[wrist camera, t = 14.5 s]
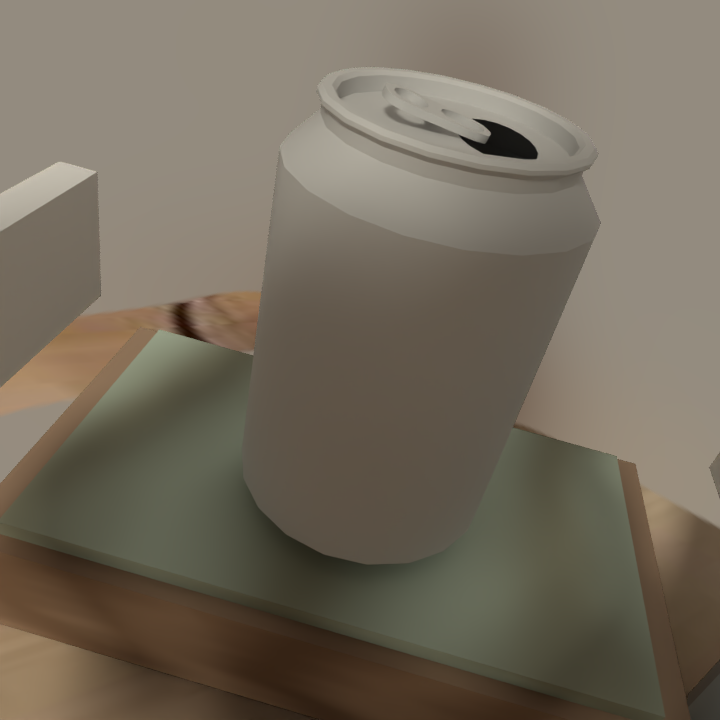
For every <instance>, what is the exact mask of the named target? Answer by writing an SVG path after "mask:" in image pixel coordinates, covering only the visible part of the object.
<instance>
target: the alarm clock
mask: <svg viewBox="0 0 720 720" xmlns="http://www.w3.org/2000/svg"><path fill="white" fill-rule="evenodd" d="M687 704H688V709H689V713H690V718H691V720H720V660H719V661H718V662H717V663H716V664H715V666H714V667H713V668H712V669H711V670H710V671H709V672H708V673H707V674H706V675H705V676H704V678H703V679H702V680H701V681H700V682H699V683H698V684H697V685H696V686H695V687H694V688H693V689H692V691H691V692H690V693H689V694H688V699H687Z"/></svg>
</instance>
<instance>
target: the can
mask: <svg viewBox="0 0 720 720" xmlns="http://www.w3.org/2000/svg"><path fill="white" fill-rule="evenodd" d="M316 92H317V94H318V96H319V98H320V101H321V108H320V109H319V110H318V111H317V112H315V113H314V114H313V115H312V116H310V117H309V118H308V119H307V120H305V121H304V122H303V123H302V124H300V125H299V126H298V127H297V128H295V129H294V130H293V131H292V132H291V133H290V134H289V135H288V136H287V138H286V139H285V140H284V142H283V143H282V144H281V146H280V147H279V155H278V164H277V171H276V179H275V187H274V195H273V204H272V211H271V220H270V227H269V235H268V244H267V251H266V260H265V267H264V275H263V283H262V291H261V299H260V307H259V315H258V323H257V332H256V340H255V348H254V356H253V364H252V372H251V380H250V388H249V396H248V404H247V412H246V420H245V428H244V436H243V444H242V462H243V478H244V480H245V482H246V484H247V486H248V488H249V490H250V492H251V494H252V496H253V498H254V500H255V502H256V504H257V506H258V508H259V509H260V510H261V511H262V512H263V513H264V514H265V515H266V516H267V517H269V518H270V519H271V520H272V521H273V522H274V523H275V524H276V525H277V526H278V527H279V528H280V529H281V530H282V531H283V532H284V533H285V534H286V535H288V536H290V537H292V538H294V539H296V540H297V541H299V542H301V543H303V544H305V545H307V546H309V547H311V548H312V549H314V550H316V551H318V552H320V553H322V554H324V555H328V556H332V557H336V558H341V559H345V560H349V561H353V562H357V563H362V564H366V565H372V564H404V563H411V562H414V561H417V560H420V559H423V558H425V557H428V556H431V555H434V554H437V553H440V552H443V551H444V550H445V549H447V548H448V547H449V546H450V545H451V544H453V543H454V542H455V541H456V540H457V539H458V538H460V537H461V536H462V535H463V534H464V533H466V532H467V531H468V529H469V526H470V524H471V522H472V520H473V518H474V515H475V513H476V511H477V509H478V507H479V505H480V502H481V500H482V498H483V495H484V493H485V491H486V488H487V486H488V484H489V481H490V479H491V477H492V474H493V472H494V470H495V467H496V465H497V463H498V461H499V458H500V456H501V454H502V451H503V449H504V447H505V444H506V442H507V440H508V437H509V435H510V433H511V430H512V428H513V426H514V423H515V421H516V419H517V416H518V414H519V412H520V409H521V407H522V405H523V402H524V400H525V398H526V396H527V393H528V391H529V388H530V386H531V384H532V382H533V379H534V377H535V375H536V372H537V370H538V368H539V365H540V363H541V361H542V359H543V356H544V354H545V352H546V349H547V347H548V345H549V342H550V340H551V338H552V335H553V333H554V331H555V328H556V326H557V324H558V321H559V319H560V317H561V315H562V312H563V310H564V307H565V305H566V303H567V300H568V298H569V296H570V294H571V291H572V289H573V287H574V284H575V282H576V280H577V277H578V275H579V273H580V270H581V268H582V266H583V263H584V261H585V259H586V257H587V254H588V252H589V250H590V247H591V245H592V242H593V240H594V238H595V236H596V233H597V231H598V229H599V226H600V224H601V222H600V220H599V217H598V215H597V212H596V210H595V208H594V205H593V202H592V200H591V197H590V195H589V192H588V190H587V187H586V185H585V183H584V180H583V177H582V173H583V171H585V170H588V169H589V168H590V167H591V166H592V164H593V163H594V161H595V160H596V158H597V156H598V152H597V150H596V148H595V146H594V144H593V142H592V140H591V138H590V136H589V135H588V134H587V133H585V132H584V131H583V130H582V129H580V128H579V127H578V126H577V125H575V124H574V123H573V122H571V121H570V120H568V119H566V118H564V117H562V116H560V115H558V114H557V113H555V112H553V111H551V110H549V109H547V108H545V107H543V106H540V105H538V104H535V103H533V102H530V101H528V100H525V99H523V98H520V97H518V96H515V95H512V94H509V93H506V92H502V91H499V90H496V89H493V88H489V87H487V86H483V85H480V84H476V83H472V82H468V81H464V80H460V79H455V78H451V77H447V76H443V75H437V74H430V73H425V72H419V71H413V70H406V69H393V68H381V67H367V68H348V69H344V70H341V71H337V72H333V73H330V74H328V75H327V76H325V77H324V78H323V80H322V81H321V82H320V83H319V85H318V86H317V90H316Z"/></svg>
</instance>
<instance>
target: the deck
mask: <svg viewBox="0 0 720 720" xmlns="http://www.w3.org/2000/svg"><path fill="white" fill-rule="evenodd" d="M252 364H253V355H249V354H246V353H242V352H239V351H235V350H231V349H228V348H224V347H220V346H217V345H213V344H210V343H206V342H202V341H199V340H195V339H192V338H188V337H184V336H181V335H177V334H173V333H170V332H166V331H163V330H158V332H157V331H154V330H150V329H146V328H143V327H140V328H139V329H138V330H137V331H136V332H135V333H134V335H133V336H132V337H131V338H130V339H129V340H128V341H127V342H126V344H125V345H124V346H123V347H122V348H121V349H120V350H119V351H118V352H117V354H116V355H115V356H114V357H113V358H112V359H111V360H110V361H109V363H108V364H107V365H106V366H105V367H104V368H103V369H102V370H101V371H100V373H99V374H98V375H97V376H96V377H95V378H94V379H93V380H92V382H91V383H90V384H89V385H88V386H87V387H86V388H85V389H84V390H83V392H82V393H81V394H80V395H79V396H78V397H77V398H76V399H75V401H74V402H73V403H72V404H71V405H70V406H69V407H68V409H66V411H65V412H64V413H63V414H62V415H61V416H60V417H59V419H58V420H57V421H56V422H55V423H54V424H53V425H52V426H51V427H50V429H49V430H48V431H47V432H46V433H45V434H44V435H43V436H42V437H41V439H40V440H39V441H38V442H37V443H36V444H35V445H34V446H33V448H32V449H31V450H30V451H29V452H28V453H27V454H26V455H25V456H24V458H23V459H22V460H21V461H20V462H19V463H18V464H17V466H16V467H15V468H14V469H13V470H12V471H11V472H10V473H9V474H8V475H7V477H6V478H5V479H4V480H3V481H2V482H1V483H0V624H3V625H7V626H10V627H13V628H17V629H20V630H23V631H27V632H30V633H33V634H37V635H40V636H43V637H47V638H50V639H53V640H57V641H60V642H63V643H67V644H70V645H73V646H77V647H80V648H83V649H87V650H90V651H93V652H97V653H100V654H103V655H107V656H110V657H113V658H117V659H120V660H123V661H127V662H130V663H133V664H137V665H140V666H143V667H147V668H150V669H153V670H157V671H160V672H163V673H167V674H170V675H173V676H177V677H180V678H183V679H187V680H190V681H193V682H197V683H200V684H203V685H207V686H210V687H213V688H217V689H220V690H223V691H227V692H230V693H233V694H237V695H240V696H243V697H247V698H250V699H253V700H257V701H260V702H263V703H267V704H270V705H273V706H277V707H280V708H283V709H287V710H290V711H293V712H297V713H300V714H303V715H307V716H310V717H313V718H317V719H320V720H691V718H690V713H689V709H688V704H687V699H686V695H685V690H684V686H683V681H682V676H681V672H680V667H679V663H678V658H677V653H676V649H675V644H674V640H673V635H672V630H671V626H670V621H669V617H668V612H667V607H666V603H665V598H664V594H663V589H662V584H661V580H660V575H659V571H658V566H657V561H656V557H655V552H654V548H653V543H652V538H651V534H650V529H649V525H648V520H647V515H646V511H645V506H644V502H643V497H642V492H641V488H640V483H639V479H638V474H637V469H636V465H635V464H634V463H630V462H626V461H623V460H619V459H617V456H614V455H611V454H607V453H603V452H600V451H596V450H592V449H589V448H585V447H582V446H578V445H574V444H571V443H567V442H564V441H560V440H556V439H553V438H549V437H546V436H542V435H538V434H535V433H531V432H527V431H524V430H520V429H517V428H512V430H511V433H510V435H509V437H508V440H507V442H506V444H505V447H504V449H503V451H502V454H501V456H500V458H499V461H498V463H497V465H496V467H495V470H494V472H493V474H492V477H491V479H490V481H489V484H488V486H487V488H486V491H485V493H484V495H483V498H482V500H481V502H480V505H479V507H478V509H477V511H476V513H475V515H474V518H473V520H472V522H471V524H470V526H469V529H468V531H467V532H466V533H464V534H463V535H462V536H461V537H460V538H458V539H457V540H456V541H455V542H454V543H453V544H451V545H450V546H449V547H448V548H447V549H445V550H444V551H443V552H440V553H437V554H434V555H431V556H428V557H425V558H423V559H420V560H417V561H414V562H411V563H404V564H372V565H366V564H362V563H357V562H353V561H349V560H345V559H341V558H336V557H332V556H328V555H324V554H322V553H320V552H318V551H316V550H314V549H312V548H311V547H309V546H307V545H305V544H303V543H301V542H299V541H297V540H296V539H294V538H292V537H290V536H288V535H286V534H285V533H284V532H283V531H282V530H281V529H280V528H279V527H278V526H277V525H276V524H275V523H274V522H273V521H272V520H271V519H270V518H269V517H267V516H266V515H265V514H264V513H263V512H262V511H261V510H260V509H259V508H258V506H257V504H256V502H255V500H254V498H253V496H252V494H251V492H250V490H249V488H248V486H247V484H246V482H245V480H244V478H243V462H242V444H243V436H244V428H245V420H246V412H247V404H248V396H249V388H250V380H251V372H252Z"/></svg>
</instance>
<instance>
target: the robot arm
mask: <svg viewBox="0 0 720 720" xmlns="http://www.w3.org/2000/svg"><path fill="white" fill-rule="evenodd" d="M100 279H101V276H100V243H99V209H98V177H97V172H96V171H92V170H89V169H85V168H81V167H78V166H74V165H70V164H67V163H63V162H58V163H56V164H54V165H52V166H50V167H48V168H47V169H45V170H43V171H41V172H39V173H37V174H36V175H34V176H32V177H30V178H28V179H26V180H24V181H23V182H21V183H19V184H17V185H15V186H13V187H12V188H10V189H8V190H6V191H4V192H2V193H0V387H1V386H3V385H4V384H5V383H6V382H7V381H8V380H9V379H10V378H11V377H12V376H14V375H15V374H16V373H17V372H18V371H19V370H20V369H21V368H22V367H23V366H24V365H26V364H27V363H28V362H29V361H30V360H31V359H32V358H33V357H34V356H35V355H36V354H38V353H39V352H40V351H41V350H42V349H43V348H44V347H45V346H46V345H47V344H49V343H50V342H51V341H52V340H53V339H54V338H55V337H56V336H57V335H58V334H59V333H61V332H62V331H63V330H64V329H65V328H66V327H67V326H68V325H69V324H70V323H71V322H73V321H74V320H75V319H76V318H77V317H78V316H79V315H80V314H81V313H82V312H84V310H86V309H87V308H88V307H89V306H90V305H91V304H92V303H93V302H94V301H95V300H97V299H98V298H99V297H100V296H101V280H100ZM709 468H710V470H711V473H712V476H713V480H714V483H715V485H716V488H717V491H718V494H719V497H720V453H719V454H718V456H717V457H716V459H715V460H714V461H713V463H712V464H711V466H710V467H709Z"/></svg>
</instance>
